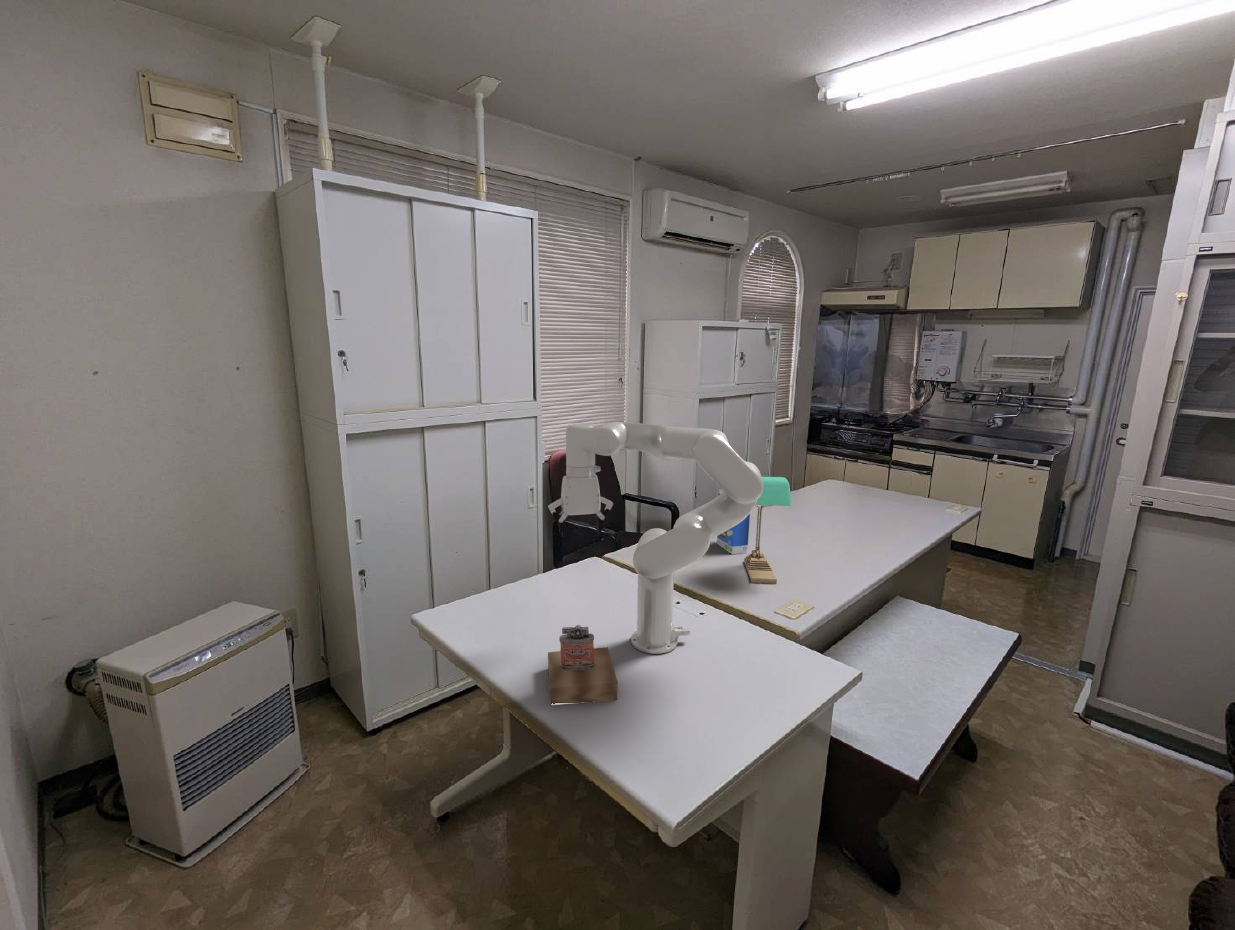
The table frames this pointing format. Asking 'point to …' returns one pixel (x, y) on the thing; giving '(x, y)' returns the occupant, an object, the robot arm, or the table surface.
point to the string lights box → (735, 536)
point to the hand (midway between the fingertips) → (581, 534)
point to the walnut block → (582, 680)
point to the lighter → (577, 648)
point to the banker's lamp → (757, 564)
